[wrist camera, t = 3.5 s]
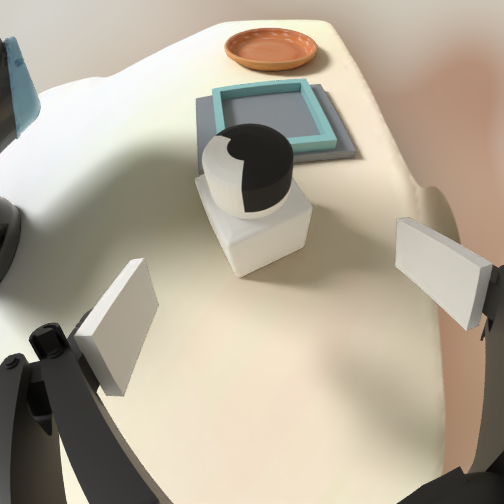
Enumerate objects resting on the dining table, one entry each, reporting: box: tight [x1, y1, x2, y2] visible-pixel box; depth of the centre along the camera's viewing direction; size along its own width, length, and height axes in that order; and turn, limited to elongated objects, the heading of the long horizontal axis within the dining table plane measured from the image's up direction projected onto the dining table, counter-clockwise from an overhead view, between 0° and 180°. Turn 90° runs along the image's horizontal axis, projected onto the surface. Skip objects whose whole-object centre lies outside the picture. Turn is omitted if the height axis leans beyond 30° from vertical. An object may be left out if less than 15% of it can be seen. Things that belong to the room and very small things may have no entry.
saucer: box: [224, 28, 317, 71], centre depth 42 cm, size 16×16×3 cm
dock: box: [196, 79, 356, 175], centre depth 34 cm, size 18×14×3 cm
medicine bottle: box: [195, 123, 313, 278], centre depth 23 cm, size 7×7×12 cm
